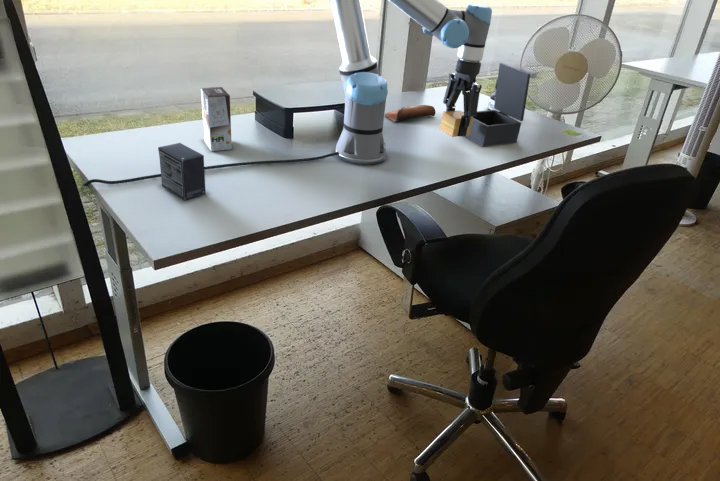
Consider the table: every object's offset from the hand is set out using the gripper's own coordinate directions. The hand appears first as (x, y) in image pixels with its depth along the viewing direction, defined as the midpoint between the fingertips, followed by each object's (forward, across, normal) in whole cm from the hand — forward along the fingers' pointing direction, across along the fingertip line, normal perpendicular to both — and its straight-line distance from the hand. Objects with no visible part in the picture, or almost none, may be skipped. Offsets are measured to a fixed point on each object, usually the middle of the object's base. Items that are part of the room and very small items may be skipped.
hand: (454, 131), depth 179 cm
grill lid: (-11, +3, -23) cm, 26 cm away
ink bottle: (+4, +25, -42) cm, 49 cm away
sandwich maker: (+4, +3, -17) cm, 18 cm away
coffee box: (+6, +20, +72) cm, 75 cm away
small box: (+6, -7, +88) cm, 89 cm away
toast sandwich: (0, 0, 0) cm, 0 cm away
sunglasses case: (+5, +28, -1) cm, 29 cm away
